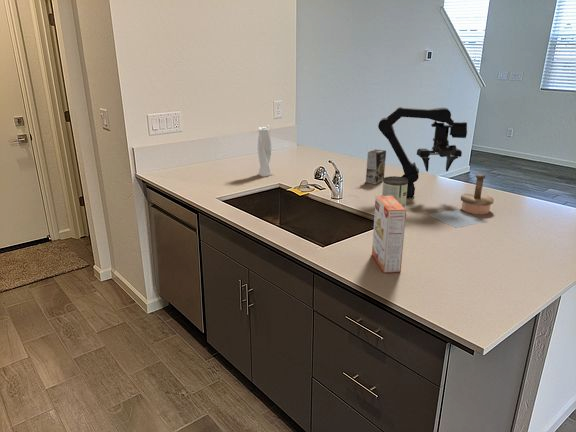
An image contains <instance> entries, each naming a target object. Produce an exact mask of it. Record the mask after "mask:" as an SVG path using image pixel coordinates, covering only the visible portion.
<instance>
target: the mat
mask: <svg viewBox="0 0 576 432" xmlns="http://www.w3.org/2000/svg"><path fill="white" fill-rule="evenodd" d="M428 216H429V217H432V218H433V219H436V220H438V221H440V222H442V223H445V224H447V225H449V226H451V227H453V228H455V229H456V228H457V229H458V228H463V227H468V226H473V225H477V224H482V223H487V221H486V220H484V219H481V218H478V217H477V216H474V215H472V214H470V213H468V212H466V211H463V210H459V209H453V210H447V211H441V212H435V213H430V214H428Z"/></svg>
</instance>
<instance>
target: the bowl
mask: <svg viewBox="0 0 576 432" xmlns="http://www.w3.org/2000/svg"><path fill="white" fill-rule="evenodd" d="M461 209H462V210H461V211H463V212H465V213H468V214H474V215H486V214H489V213H490V210H491V205H485V206H481V205H472V204H468V203H465V202H463V201H462V204H461Z"/></svg>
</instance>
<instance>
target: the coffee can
mask: <svg viewBox="0 0 576 432" xmlns="http://www.w3.org/2000/svg"><path fill="white" fill-rule="evenodd" d="M407 186H408V179H406V178H403V177H401V176H395V175H393V176H384V178H383V181H382V194H381V196H393V197H394V198H395V199H396V200H397V201H398V202H399V203H400V204H401V205H402V206H403V207H404V208H405V209H406V206H407V198H406V197H407Z"/></svg>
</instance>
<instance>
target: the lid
mask: <svg viewBox="0 0 576 432" xmlns="http://www.w3.org/2000/svg"><path fill="white" fill-rule="evenodd" d="M475 178H476V182H475V188H474V193H473V192H469V193H468V192H467V193H464V194H461V196H460V201H461V202H462V203H463V202H465V203H468V204H472V205H481V206H485V205H490V206H491V205H493V204H494V202H495V201H494V200H495V199H494V198H493V197H492V196H489V195H486V194H482V191H483V185H484V179H485V178H486V175H485V174H481V173H477V174H475Z"/></svg>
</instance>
